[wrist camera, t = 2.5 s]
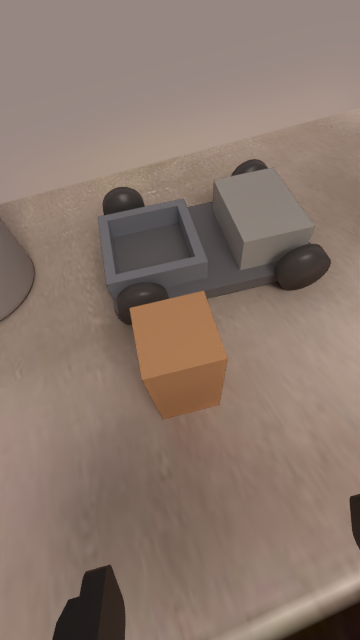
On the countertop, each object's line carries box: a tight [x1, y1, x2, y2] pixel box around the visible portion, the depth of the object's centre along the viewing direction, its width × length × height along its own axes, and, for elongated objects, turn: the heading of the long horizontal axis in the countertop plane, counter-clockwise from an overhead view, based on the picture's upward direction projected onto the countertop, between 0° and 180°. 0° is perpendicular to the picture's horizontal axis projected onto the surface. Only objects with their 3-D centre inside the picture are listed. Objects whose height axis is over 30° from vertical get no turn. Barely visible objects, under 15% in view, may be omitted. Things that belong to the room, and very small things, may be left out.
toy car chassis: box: [98, 159, 331, 325], centre depth 32 cm, size 22×16×6 cm
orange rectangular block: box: [130, 291, 228, 419], centre depth 22 cm, size 5×5×10 cm
